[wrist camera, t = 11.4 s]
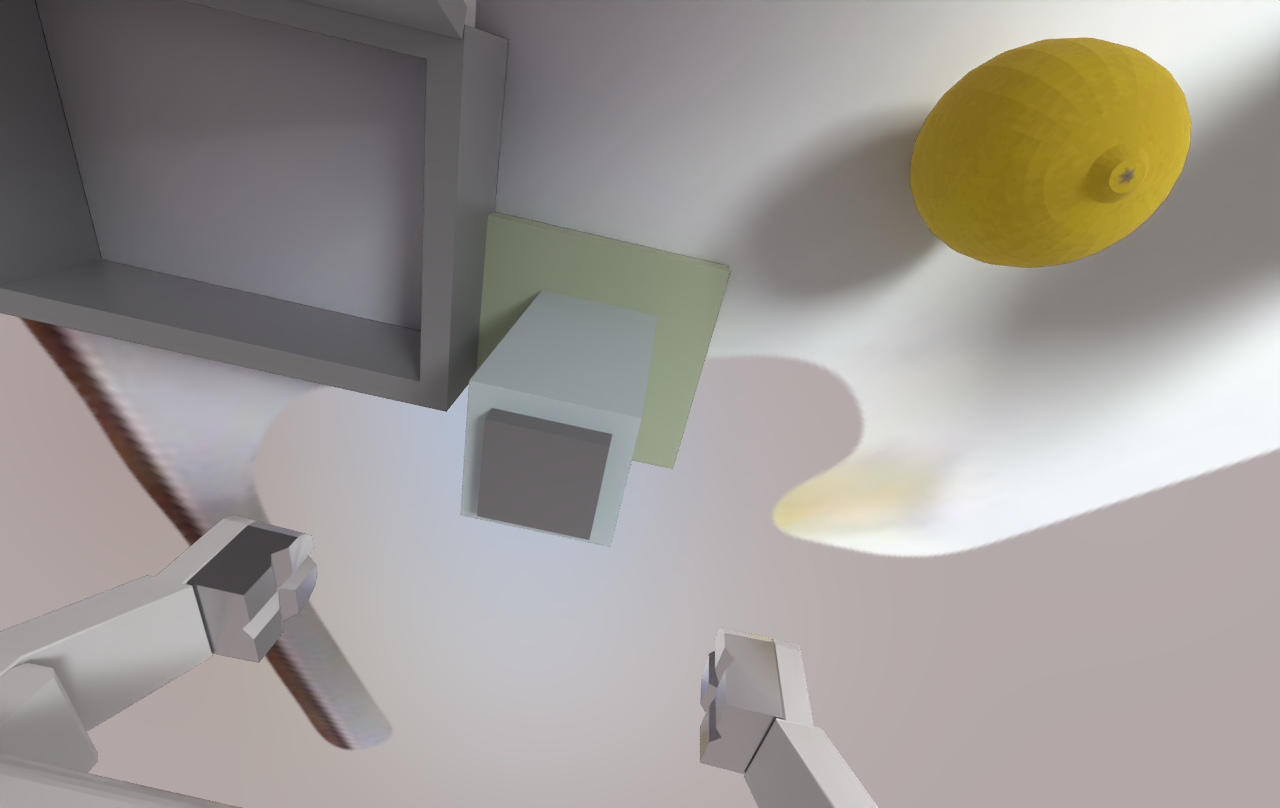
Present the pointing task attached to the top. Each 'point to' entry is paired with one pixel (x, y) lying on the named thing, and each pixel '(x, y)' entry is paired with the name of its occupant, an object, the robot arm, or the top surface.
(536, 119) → the top surface
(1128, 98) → the lemon
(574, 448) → the block
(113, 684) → the robot arm
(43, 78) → the case
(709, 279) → the pad
